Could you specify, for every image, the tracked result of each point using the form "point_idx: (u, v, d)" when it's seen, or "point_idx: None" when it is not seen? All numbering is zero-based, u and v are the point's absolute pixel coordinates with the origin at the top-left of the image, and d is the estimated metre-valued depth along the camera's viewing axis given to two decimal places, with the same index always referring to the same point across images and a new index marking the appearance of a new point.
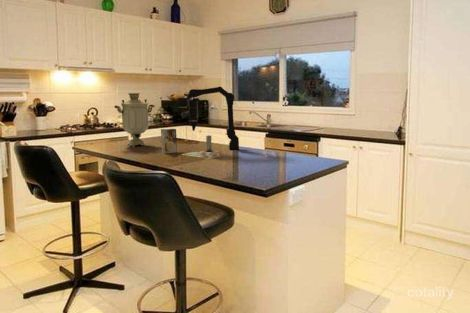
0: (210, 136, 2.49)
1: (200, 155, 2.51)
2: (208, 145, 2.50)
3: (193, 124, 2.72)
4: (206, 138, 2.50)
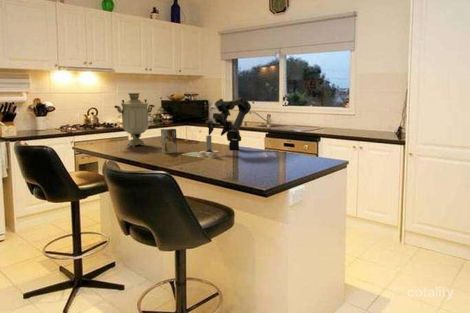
0: (210, 136, 2.49)
1: (200, 155, 2.51)
2: (208, 145, 2.50)
3: (225, 129, 2.57)
4: (206, 138, 2.50)
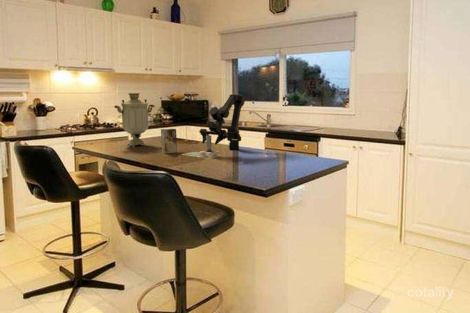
0: (210, 136, 2.49)
1: (200, 155, 2.51)
2: (208, 145, 2.50)
3: (219, 138, 2.51)
4: (206, 138, 2.50)
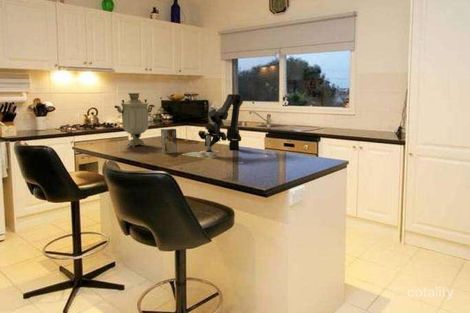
0: (210, 136, 2.49)
1: (200, 155, 2.51)
2: (208, 145, 2.50)
3: (214, 140, 2.51)
4: (206, 138, 2.50)
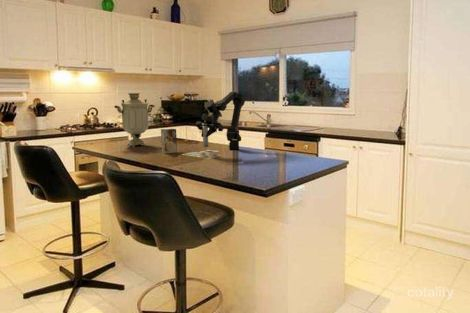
0: (206, 127, 2.49)
1: (200, 155, 2.51)
2: (204, 136, 2.50)
3: (210, 131, 2.51)
4: None
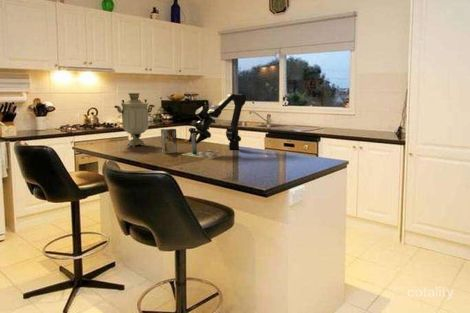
0: (194, 134, 2.57)
1: (200, 155, 2.51)
2: (192, 143, 2.58)
3: (200, 137, 2.56)
4: (191, 136, 2.58)
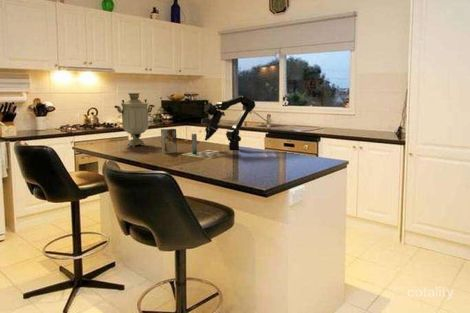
0: (194, 134, 2.57)
1: (200, 155, 2.51)
2: (192, 143, 2.58)
3: (210, 132, 2.61)
4: None
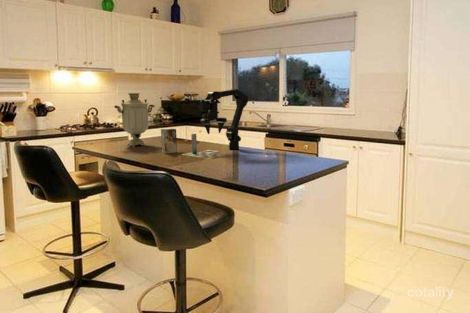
0: (194, 134, 2.57)
1: (200, 155, 2.51)
2: (192, 143, 2.58)
3: (206, 127, 2.65)
4: (191, 136, 2.58)
